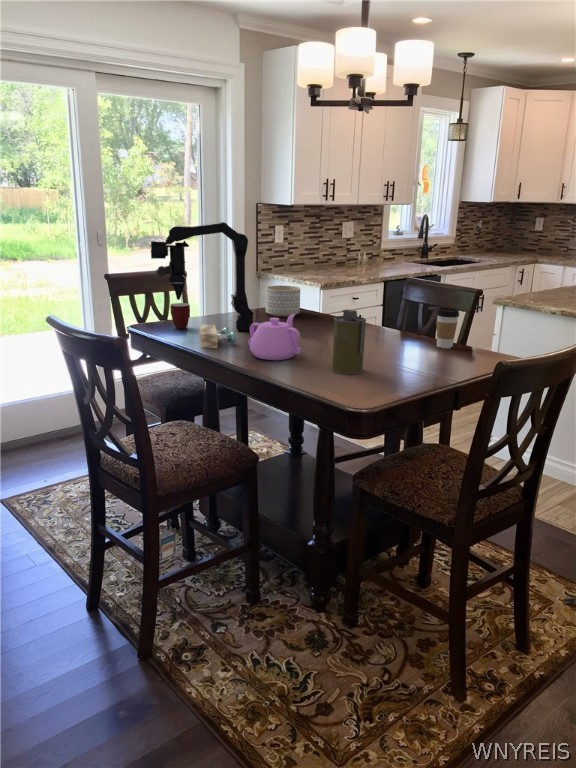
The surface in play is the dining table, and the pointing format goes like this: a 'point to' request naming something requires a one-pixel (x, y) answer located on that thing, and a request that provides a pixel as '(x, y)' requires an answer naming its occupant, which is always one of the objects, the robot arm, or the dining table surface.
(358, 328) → the canister
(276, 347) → the teapot
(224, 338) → the knob
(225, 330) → the knob
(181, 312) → the mug
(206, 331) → the mount
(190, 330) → the dining table surface
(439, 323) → the coffee cup
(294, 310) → the planter
